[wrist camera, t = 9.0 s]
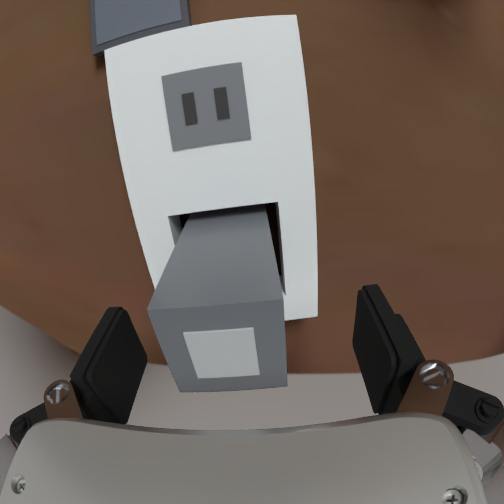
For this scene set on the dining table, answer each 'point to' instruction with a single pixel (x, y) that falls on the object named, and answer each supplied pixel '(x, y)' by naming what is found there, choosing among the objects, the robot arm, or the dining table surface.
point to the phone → (133, 20)
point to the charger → (222, 304)
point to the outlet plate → (219, 137)
